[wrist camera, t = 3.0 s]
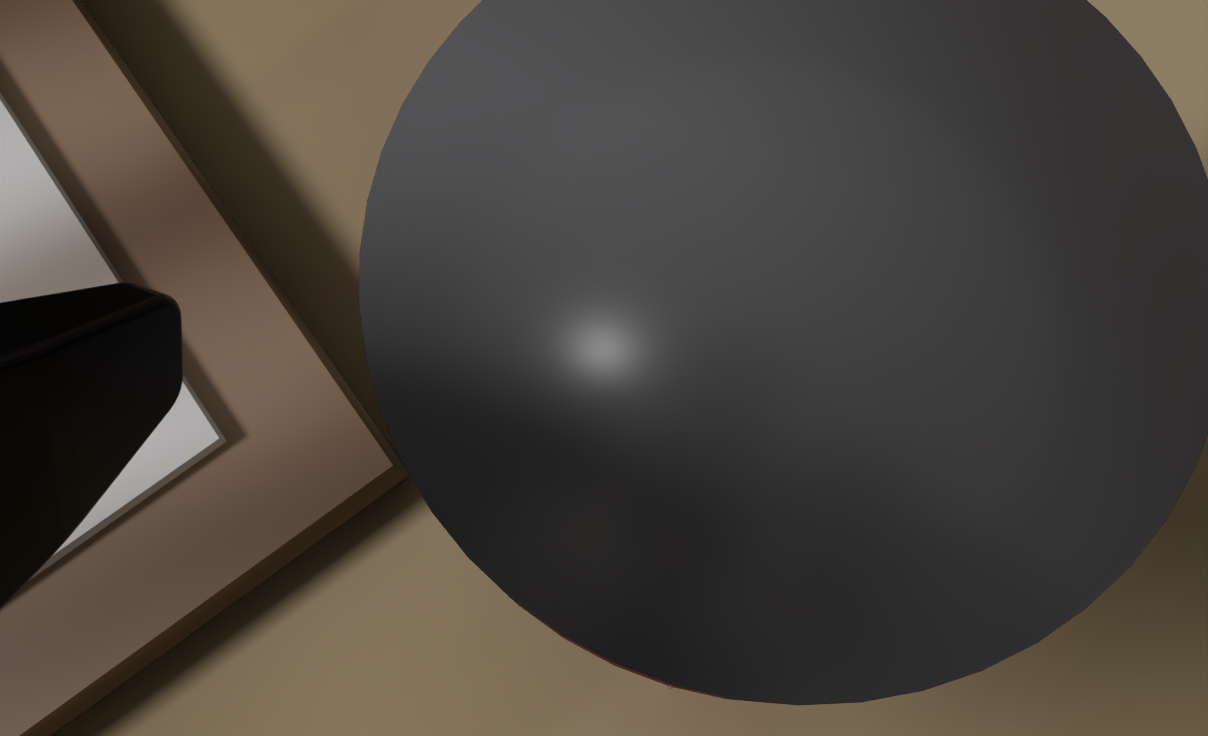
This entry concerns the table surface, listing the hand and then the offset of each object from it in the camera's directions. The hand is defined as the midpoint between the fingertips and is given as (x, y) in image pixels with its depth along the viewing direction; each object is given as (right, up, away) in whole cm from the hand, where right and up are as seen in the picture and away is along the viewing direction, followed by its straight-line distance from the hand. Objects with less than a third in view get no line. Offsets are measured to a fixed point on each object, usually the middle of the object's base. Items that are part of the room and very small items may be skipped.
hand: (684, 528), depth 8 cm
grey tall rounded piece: (+1, -1, +9) cm, 9 cm away
